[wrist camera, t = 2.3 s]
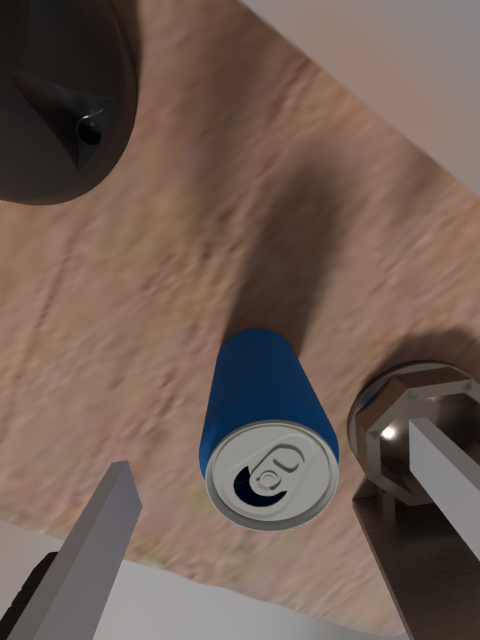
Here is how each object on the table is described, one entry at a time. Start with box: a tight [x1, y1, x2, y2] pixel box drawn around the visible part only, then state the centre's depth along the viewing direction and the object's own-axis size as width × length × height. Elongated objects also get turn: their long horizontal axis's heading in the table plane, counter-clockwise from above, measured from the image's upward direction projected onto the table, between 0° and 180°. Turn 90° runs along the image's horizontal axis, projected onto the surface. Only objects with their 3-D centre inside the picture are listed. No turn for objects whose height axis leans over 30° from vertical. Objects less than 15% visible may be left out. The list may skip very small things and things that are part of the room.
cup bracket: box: [347, 360, 480, 640], centre depth 20 cm, size 14×12×11 cm
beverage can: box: [199, 329, 339, 532], centre depth 18 cm, size 6×6×12 cm
